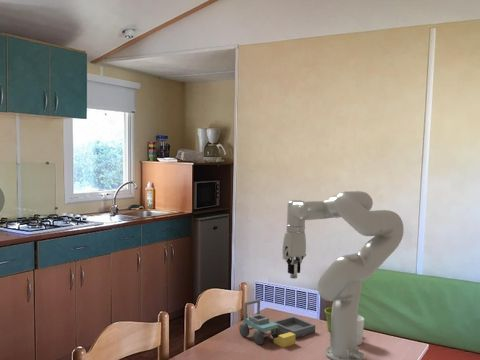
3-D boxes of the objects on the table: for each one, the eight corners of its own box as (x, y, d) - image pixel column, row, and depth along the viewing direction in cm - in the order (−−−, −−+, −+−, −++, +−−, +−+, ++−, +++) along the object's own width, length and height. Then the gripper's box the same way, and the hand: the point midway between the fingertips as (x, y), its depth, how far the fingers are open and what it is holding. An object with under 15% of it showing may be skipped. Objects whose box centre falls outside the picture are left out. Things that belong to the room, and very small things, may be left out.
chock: (295, 344, 177) (295, 334, 177) (283, 348, 173) (283, 338, 173) (285, 339, 182) (285, 329, 182) (273, 343, 178) (274, 333, 178)
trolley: (281, 340, 180) (282, 307, 179) (261, 346, 174) (262, 311, 173) (258, 329, 191) (259, 298, 190) (239, 334, 185) (240, 302, 184)
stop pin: (299, 278, 190) (300, 260, 189) (293, 279, 187) (294, 261, 187) (293, 276, 192) (294, 258, 192) (287, 277, 190) (288, 259, 190)
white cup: (339, 339, 183) (340, 315, 183) (354, 337, 187) (355, 313, 186) (351, 347, 176) (352, 322, 176) (367, 344, 179) (368, 319, 179)
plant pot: (319, 330, 193) (320, 310, 192) (331, 325, 199) (332, 305, 199) (338, 337, 186) (339, 316, 186) (350, 331, 193) (351, 311, 192)
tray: (315, 332, 190) (315, 325, 190) (293, 338, 182) (293, 331, 182) (293, 322, 200) (293, 316, 200) (271, 328, 192) (271, 321, 192)
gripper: (302, 227, 197) (300, 268, 198) (275, 229, 187) (273, 273, 187) (315, 229, 191) (313, 272, 192) (288, 232, 181) (286, 277, 182)
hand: (293, 272), depth 190 cm, fingers closed on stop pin, 3 cm apart
